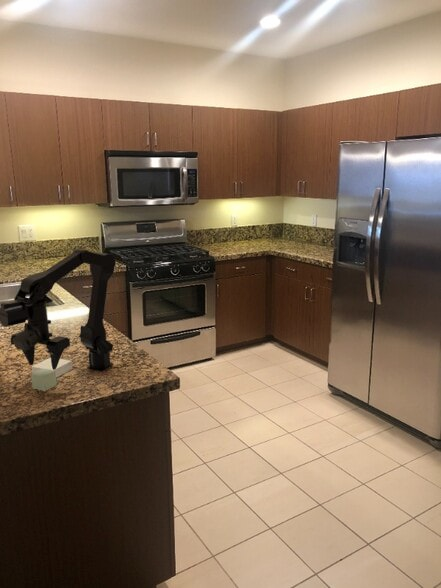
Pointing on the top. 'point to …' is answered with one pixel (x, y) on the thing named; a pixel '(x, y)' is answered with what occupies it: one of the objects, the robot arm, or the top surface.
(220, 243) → the top surface
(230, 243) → the top surface
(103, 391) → the top surface
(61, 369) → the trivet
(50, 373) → the cube
